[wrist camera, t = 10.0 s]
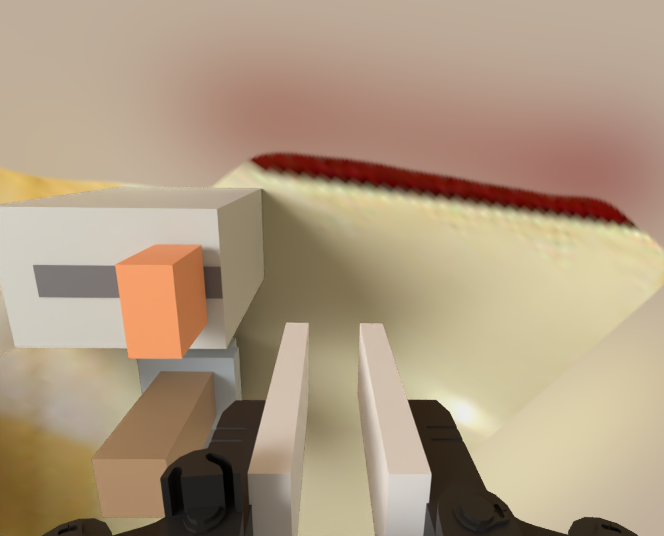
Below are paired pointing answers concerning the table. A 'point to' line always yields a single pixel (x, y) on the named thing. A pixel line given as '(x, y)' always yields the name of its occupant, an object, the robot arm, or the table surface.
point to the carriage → (164, 427)
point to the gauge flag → (162, 300)
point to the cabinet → (117, 245)
